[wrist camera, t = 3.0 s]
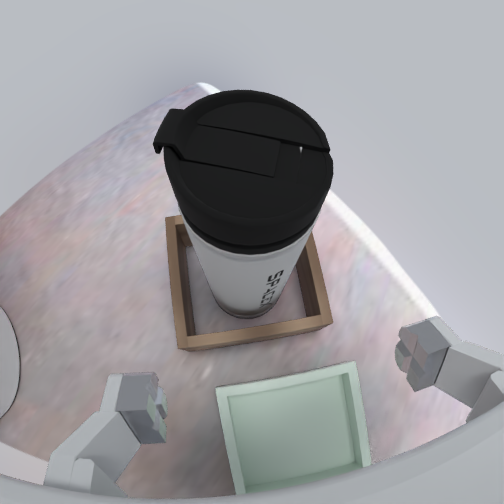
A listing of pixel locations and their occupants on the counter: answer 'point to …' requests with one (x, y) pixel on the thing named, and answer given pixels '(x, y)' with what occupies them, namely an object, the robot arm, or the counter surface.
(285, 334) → the square wooden frame
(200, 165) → the travel mug
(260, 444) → the dock
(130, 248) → the counter surface
